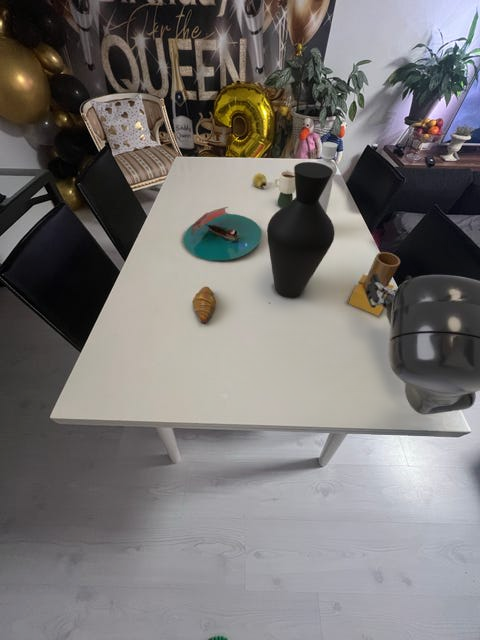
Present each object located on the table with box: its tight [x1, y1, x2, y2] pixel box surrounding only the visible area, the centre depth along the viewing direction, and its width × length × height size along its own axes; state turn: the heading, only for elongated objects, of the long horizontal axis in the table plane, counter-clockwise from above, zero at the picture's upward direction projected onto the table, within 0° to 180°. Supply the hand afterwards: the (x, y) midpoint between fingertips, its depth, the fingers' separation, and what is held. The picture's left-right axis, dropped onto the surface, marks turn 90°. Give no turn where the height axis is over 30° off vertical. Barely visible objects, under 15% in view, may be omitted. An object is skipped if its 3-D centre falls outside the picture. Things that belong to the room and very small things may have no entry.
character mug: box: [273, 170, 296, 209], centre depth 120 cm, size 11×7×13 cm, turn 81°
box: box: [348, 273, 395, 317], centre depth 87 cm, size 9×9×5 cm
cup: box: [363, 251, 401, 292], centre depth 81 cm, size 6×6×10 cm
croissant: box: [191, 286, 217, 324], centre depth 83 cm, size 14×7×5 cm, turn 1°
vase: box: [266, 161, 335, 299], centre depth 78 cm, size 17×17×35 cm
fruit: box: [252, 172, 268, 190], centre depth 134 cm, size 6×6×10 cm
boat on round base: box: [182, 206, 263, 261], centre depth 104 cm, size 28×28×11 cm
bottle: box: [315, 141, 338, 213], centre depth 101 cm, size 9×9×30 cm
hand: (390, 277), depth 76 cm, fingers open, 8 cm apart
